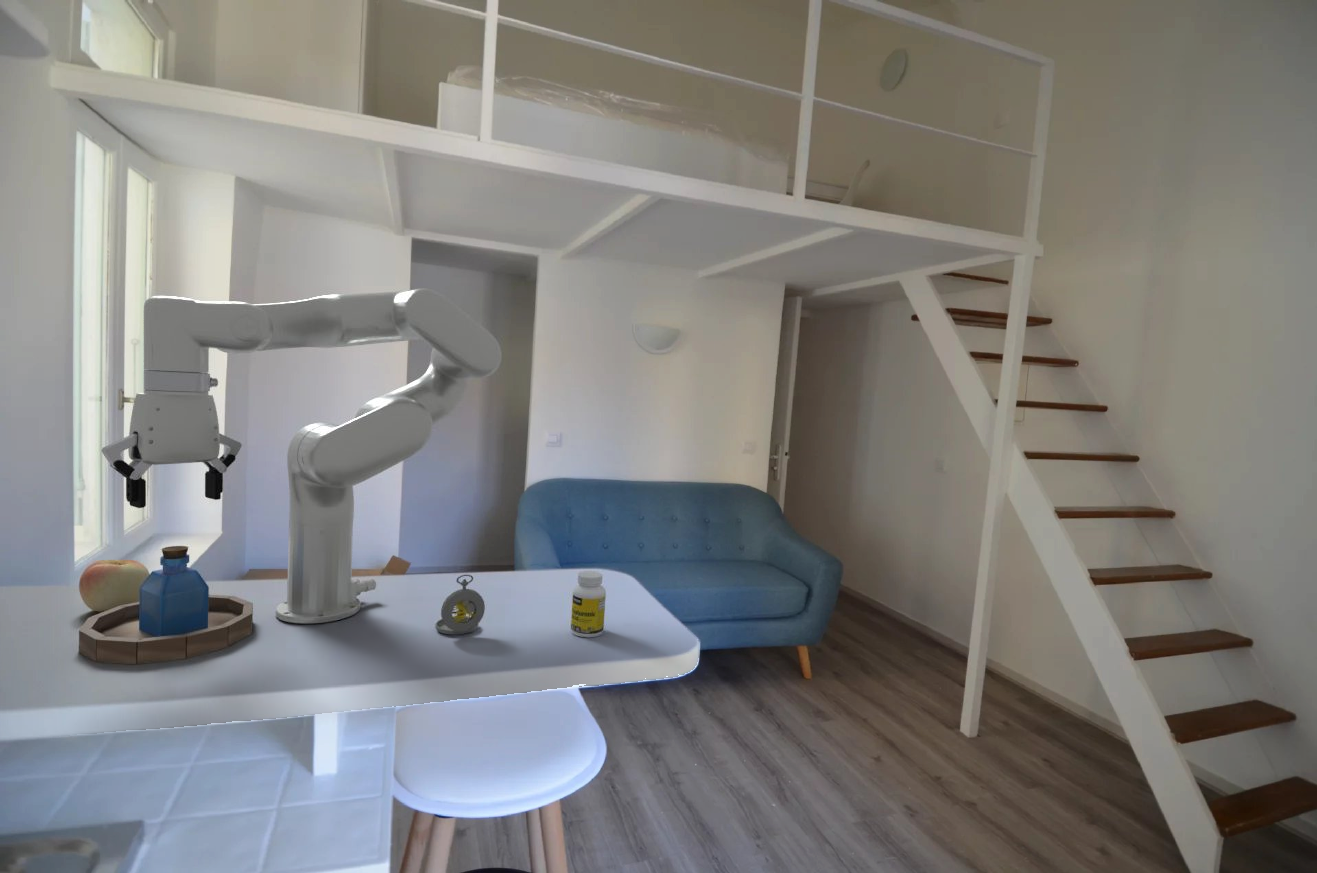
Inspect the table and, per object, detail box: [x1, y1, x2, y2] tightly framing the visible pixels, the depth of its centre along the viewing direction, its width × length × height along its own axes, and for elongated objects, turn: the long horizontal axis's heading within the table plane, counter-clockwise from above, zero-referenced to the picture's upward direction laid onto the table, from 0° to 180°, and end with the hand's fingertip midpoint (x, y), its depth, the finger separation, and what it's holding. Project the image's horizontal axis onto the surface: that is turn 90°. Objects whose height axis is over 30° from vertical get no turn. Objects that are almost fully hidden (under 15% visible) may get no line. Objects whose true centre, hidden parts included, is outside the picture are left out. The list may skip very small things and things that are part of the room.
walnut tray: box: [78, 594, 254, 665], centre depth 97 cm, size 20×20×3 cm
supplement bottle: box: [570, 570, 607, 638], centre depth 109 cm, size 5×5×10 cm
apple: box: [78, 559, 150, 613], centre depth 106 cm, size 9×9×8 cm
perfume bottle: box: [139, 545, 210, 637], centre depth 97 cm, size 6×6×12 cm
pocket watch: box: [434, 574, 486, 635], centre depth 105 cm, size 8×8×10 cm
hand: (176, 502), depth 96 cm, fingers open, 9 cm apart
